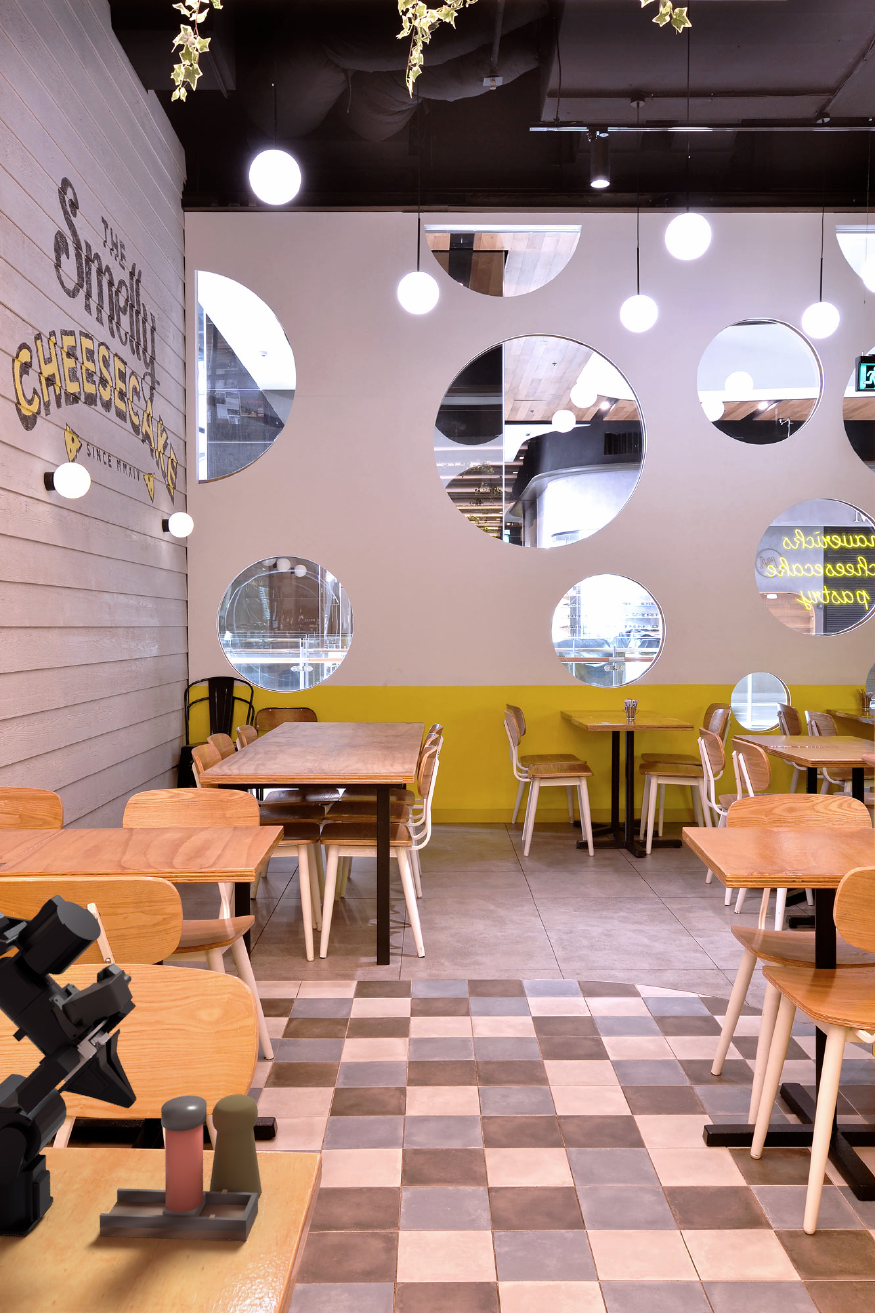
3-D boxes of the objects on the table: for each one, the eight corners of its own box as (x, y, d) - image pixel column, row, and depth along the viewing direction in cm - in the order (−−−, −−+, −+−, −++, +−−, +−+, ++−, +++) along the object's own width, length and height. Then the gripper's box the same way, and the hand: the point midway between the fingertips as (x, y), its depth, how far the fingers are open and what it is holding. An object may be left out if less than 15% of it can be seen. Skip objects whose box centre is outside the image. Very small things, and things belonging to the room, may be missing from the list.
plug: (155, 1225, 99) (154, 1116, 99) (170, 1198, 104) (170, 1095, 104) (199, 1226, 99) (198, 1117, 99) (212, 1200, 104) (212, 1096, 104)
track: (99, 1236, 99) (99, 1214, 99) (118, 1207, 104) (118, 1186, 104) (245, 1241, 98) (245, 1219, 98) (258, 1212, 104) (258, 1190, 103)
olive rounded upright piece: (249, 1213, 103) (249, 1115, 103) (199, 1206, 105) (198, 1110, 104) (269, 1182, 109) (269, 1090, 109) (222, 1176, 110) (221, 1085, 110)
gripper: (44, 982, 92) (152, 1095, 92) (119, 926, 111) (209, 1019, 111) (-32, 1058, 93) (75, 1171, 92) (55, 990, 112) (145, 1083, 111)
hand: (132, 1104), depth 102 cm, fingers closed
